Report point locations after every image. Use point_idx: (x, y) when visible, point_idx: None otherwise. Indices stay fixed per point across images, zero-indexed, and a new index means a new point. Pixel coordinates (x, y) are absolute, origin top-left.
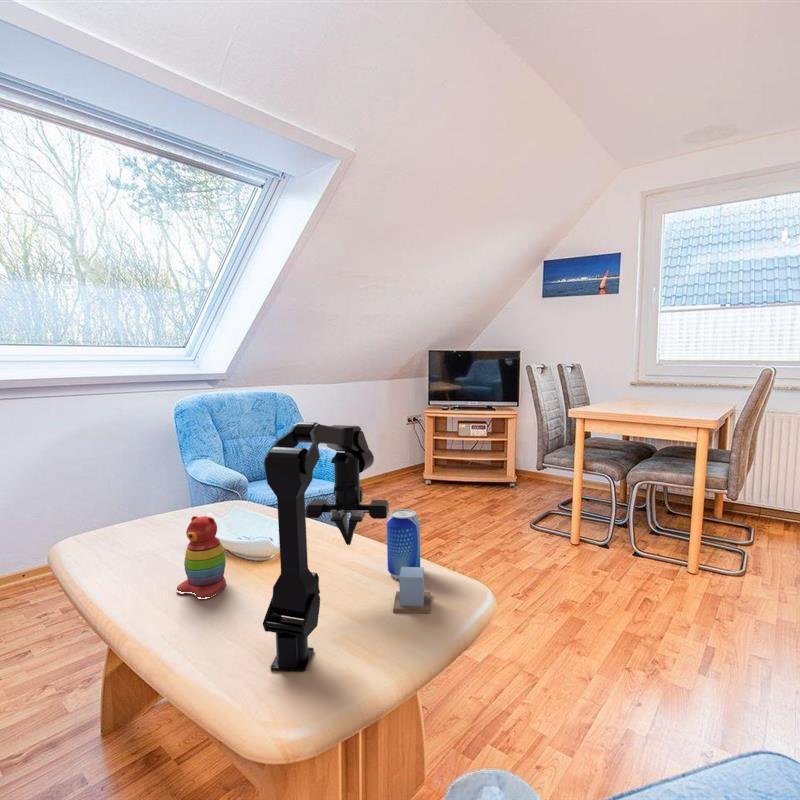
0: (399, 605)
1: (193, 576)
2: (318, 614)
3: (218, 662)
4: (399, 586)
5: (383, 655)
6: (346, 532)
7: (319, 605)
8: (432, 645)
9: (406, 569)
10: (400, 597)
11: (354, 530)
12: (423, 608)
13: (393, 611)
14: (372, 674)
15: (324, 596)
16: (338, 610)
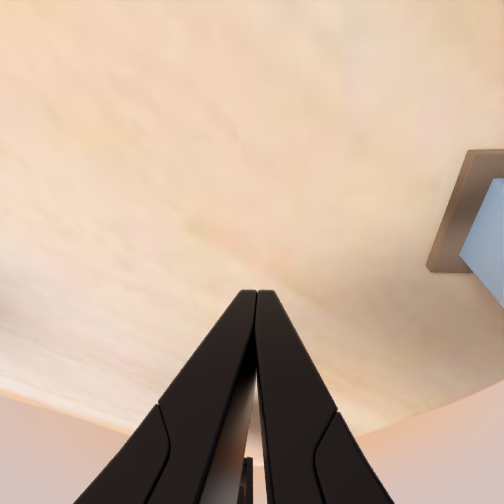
0: (458, 253)
1: None
2: (252, 479)
3: (98, 396)
4: (500, 303)
5: (377, 387)
6: (238, 470)
7: (252, 500)
8: (489, 368)
9: None
10: (477, 273)
11: (331, 409)
12: None
13: (428, 267)
14: (355, 415)
15: (175, 182)
16: (252, 260)
